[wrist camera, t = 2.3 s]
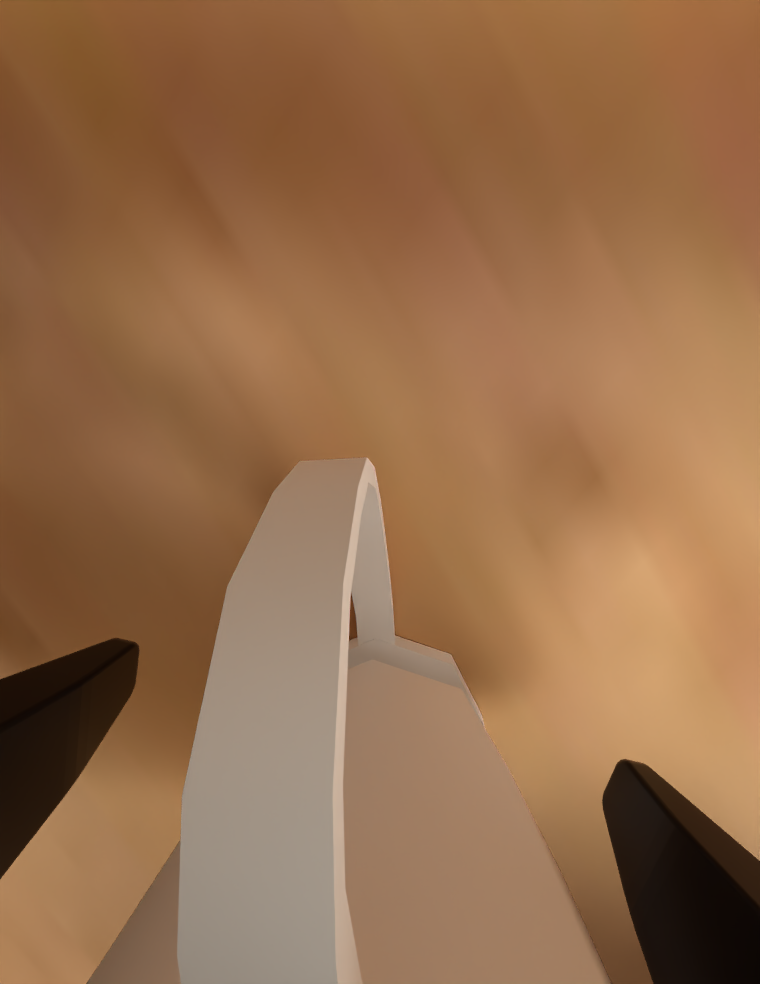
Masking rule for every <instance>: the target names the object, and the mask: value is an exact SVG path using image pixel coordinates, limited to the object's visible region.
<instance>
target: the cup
mask: <svg viewBox="0 0 760 984" xmlns="http://www.w3.org/2000/svg"><path fill="white" fill-rule="evenodd" d="M351 593H352V598H353V604H354V609H355V615H356V624H357V636H358V637H357V638H354V639H352V640H349V622H350V598H351ZM86 984H612V983H611V981H610V979H609V976H608V974H607V972H606V970H605V968H604V965H603V963H602V961H601V959H600V957H599V954H598V952H597V950H596V948H595V946H594V943H593V941H592V939H591V937H590V935H589V932H588V930H587V928H586V926H585V923H584V921H583V919H582V917H581V915H580V912H579V910H578V908H577V906H576V904H575V901H574V899H573V897H572V895H571V893H570V890H569V888H568V886H567V884H566V882H565V879H564V877H563V875H562V873H561V871H560V869H559V867H558V865H557V863H556V861H555V859H554V857H553V855H552V853H551V851H550V849H549V847H548V845H547V844H546V842H545V840H544V838H543V836H542V834H541V832H540V830H539V828H538V826H537V824H536V822H535V820H534V818H533V816H532V814H531V812H530V810H529V808H528V806H527V804H526V802H525V800H524V798H523V796H522V794H521V792H520V790H519V788H518V786H517V784H516V782H515V780H514V778H513V776H512V774H511V772H510V770H509V769H508V767H507V765H506V763H505V761H504V760H503V758H502V756H501V755H500V753H499V751H498V750H497V748H496V746H495V745H494V743H493V741H492V739H491V738H490V736H489V734H488V733H487V731H486V729H485V726H484V722H483V717H482V714H481V712H480V710H479V708H478V706H477V704H476V702H475V701H474V699H473V697H472V695H471V693H470V691H469V689H468V687H467V685H466V683H465V681H464V679H463V677H462V675H461V673H460V671H459V669H458V667H457V665H456V663H455V661H454V659H453V657H452V655H451V654H449V653H446V652H443V651H440V650H437V649H434V648H431V647H428V646H425V645H422V644H419V643H416V642H413V641H410V640H407V639H404V638H401V637H398V636H395V628H394V612H393V600H392V589H391V579H390V569H389V560H388V552H387V544H386V536H385V528H384V520H383V513H382V505H381V498H380V493H379V488H378V482H377V477H376V472H375V467H374V465H373V464H372V463H371V462H370V460H369V459H368V458H367V457H362V458H344V459H325V460H307V461H299V462H298V463H297V464H296V465H295V467H294V468H293V469H292V470H291V471H290V473H289V474H288V475H287V476H286V477H285V478H284V480H283V481H282V482H281V483H280V484H279V485H278V487H277V488H276V489H275V490H274V491H273V493H272V495H271V497H270V499H269V501H268V504H267V506H266V508H265V510H264V512H263V514H262V516H261V518H260V520H259V522H258V524H257V526H256V528H255V530H254V532H253V534H252V536H251V539H250V541H249V543H248V545H247V547H246V549H245V551H244V553H243V555H242V557H241V559H240V561H239V563H238V565H237V567H236V569H235V571H234V574H233V576H232V578H231V580H230V582H229V584H228V586H227V590H226V594H225V599H224V604H223V608H222V613H221V618H220V622H219V627H218V631H217V636H216V641H215V645H214V650H213V655H212V659H211V664H210V669H209V673H208V678H207V682H206V687H205V692H204V696H203V701H202V706H201V710H200V715H199V720H198V724H197V729H196V733H195V738H194V743H193V747H192V752H191V757H190V761H189V766H188V771H187V775H186V780H185V784H184V789H183V794H182V812H181V840H180V841H179V843H178V844H177V846H176V847H175V849H174V851H173V852H172V854H171V855H170V857H169V858H168V860H167V861H166V863H165V864H164V866H163V868H162V869H161V871H160V872H159V874H158V875H157V877H156V878H155V880H154V881H153V883H152V884H151V886H150V888H149V889H148V891H147V892H146V894H145V895H144V897H143V898H142V900H141V901H140V903H139V905H138V906H137V908H136V909H135V911H134V912H133V914H132V915H131V917H130V918H129V920H128V922H127V923H126V925H125V926H124V928H123V929H122V931H121V932H120V934H119V935H118V937H117V938H116V940H115V942H114V943H113V945H112V946H111V948H110V949H109V951H108V952H107V954H106V955H105V957H104V958H103V960H102V961H101V963H100V964H99V966H98V967H97V969H96V970H95V972H94V973H93V974H92V976H91V977H90V979H89V980H88V982H87V983H86Z"/></svg>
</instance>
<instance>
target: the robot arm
mask: <svg viewBox="0 0 760 984" xmlns="http://www.w3.org/2000/svg"><path fill="white" fill-rule="evenodd" d="M138 658H139V646H138V644H137V643H135V642H132V641H128V640H124V639H119V638H113V639H110V640H107V641H104V642H102V643H99V644H96V645H93V646H91V647H88V648H85V649H82V650H80V651H77V652H74V653H71V654H69V655H66V656H63V657H60V658H58V659H55V660H52V661H49V662H47V663H44V664H41V665H38V666H36V667H33V668H30V669H27V670H25V671H22V672H19V673H16V674H14V675H11V676H8V677H5V678H3V679H0V879H1V878H2V876H3V875H4V874H5V872H6V871H7V870H8V869H9V867H10V866H11V865H12V863H13V862H14V861H15V860H16V858H17V857H18V856H19V854H20V853H21V852H22V851H23V849H24V848H25V847H26V845H27V844H28V843H29V842H30V840H31V839H32V838H33V836H34V835H35V834H36V832H37V831H38V830H39V829H40V827H41V826H42V825H43V823H44V822H45V821H46V820H47V818H48V817H49V816H50V814H51V813H52V812H53V811H54V809H55V808H56V807H57V805H58V804H59V803H60V801H61V800H62V799H63V798H64V796H65V795H66V794H67V792H68V791H69V790H70V788H71V787H72V785H73V784H74V783H75V781H76V780H77V778H78V777H79V775H80V774H81V772H82V771H83V769H84V768H85V766H86V765H87V763H88V762H89V760H90V759H91V757H92V755H93V754H94V752H95V751H96V749H97V748H98V746H99V744H100V743H101V741H102V740H103V738H104V737H105V735H106V734H107V732H108V730H109V729H110V727H111V726H112V724H113V723H114V721H115V719H116V718H117V716H118V715H119V713H120V712H121V710H122V708H123V707H124V705H125V704H126V702H127V701H128V699H129V697H130V696H131V694H132V692H133V689H134V687H135V683H136V675H137V666H138ZM602 804H603V811H604V815H605V819H606V823H607V827H608V831H609V835H610V839H611V843H612V847H613V851H614V854H615V858H616V862H617V866H618V870H619V874H620V878H621V882H622V886H623V890H624V894H625V897H626V901H627V905H628V908H629V912H630V915H631V918H632V921H633V924H634V928H635V931H636V934H637V937H638V940H639V943H640V946H641V948H642V951H643V954H644V957H645V960H646V963H647V966H648V969H649V972H650V975H651V978H652V981H653V984H760V861H759V860H758V859H757V858H756V857H754V856H753V855H752V854H751V853H750V852H748V851H747V850H746V849H745V848H744V847H743V846H741V845H740V844H739V843H738V842H737V841H736V840H734V839H733V838H732V837H731V836H730V835H729V834H727V833H726V832H725V831H724V830H723V829H721V828H720V827H719V826H718V825H717V824H716V823H714V822H713V821H712V820H711V819H710V818H709V817H707V816H706V815H705V814H704V813H703V812H702V811H700V810H699V809H698V808H697V807H696V806H694V805H693V804H692V803H691V802H690V801H689V800H687V799H686V798H685V797H684V796H683V795H682V794H680V793H679V792H678V791H677V790H676V789H675V788H673V787H672V786H671V785H670V784H669V783H668V782H666V781H665V780H664V779H663V778H662V777H660V776H659V775H658V774H657V773H656V772H655V771H653V770H652V769H651V768H650V767H649V766H647V765H645V764H643V763H640V762H635V761H631V760H627V759H622V760H620V761H619V762H618V763H617V764H616V766H615V769H614V771H613V773H612V775H611V778H610V780H609V782H608V784H607V786H606V789H605V791H604V793H603V799H602Z"/></svg>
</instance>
